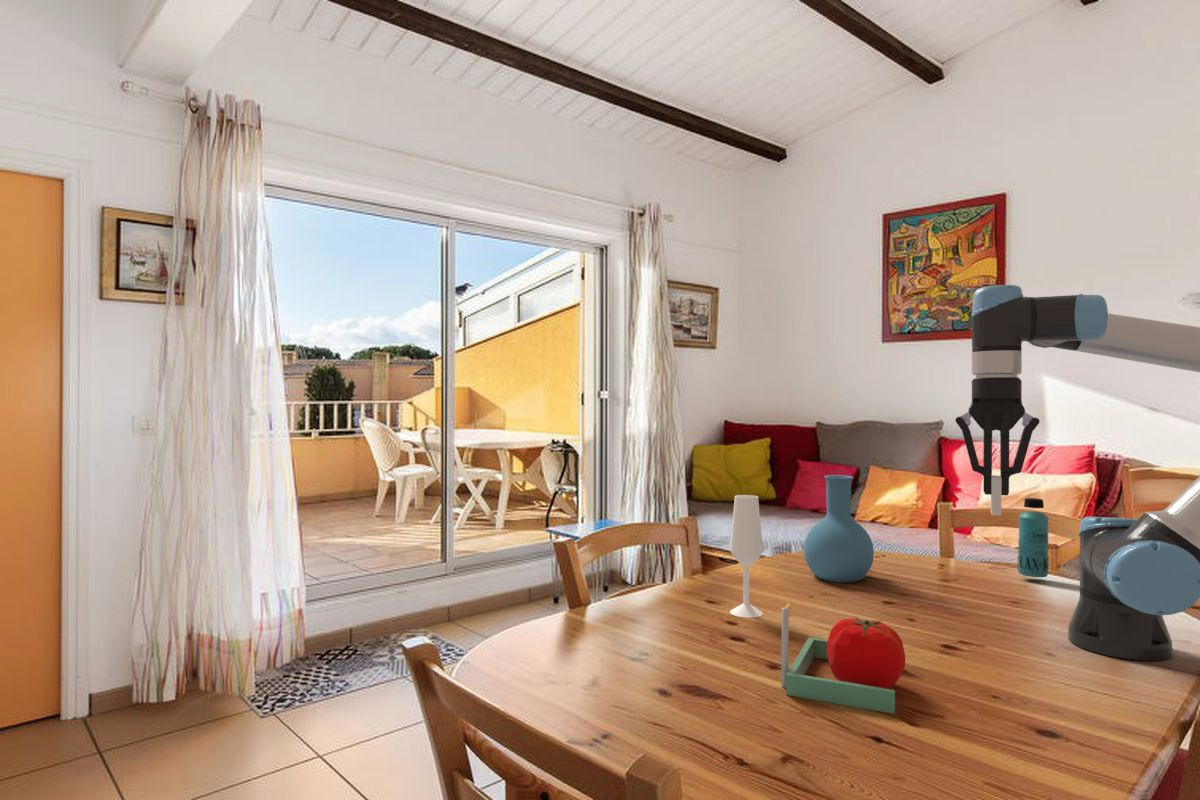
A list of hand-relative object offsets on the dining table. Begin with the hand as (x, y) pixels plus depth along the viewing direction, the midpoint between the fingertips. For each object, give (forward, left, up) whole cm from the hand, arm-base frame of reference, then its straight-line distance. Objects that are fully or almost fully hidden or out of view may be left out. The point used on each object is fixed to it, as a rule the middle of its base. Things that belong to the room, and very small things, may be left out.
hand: (996, 513), depth 125 cm
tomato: (+19, +24, -25) cm, 39 cm away
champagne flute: (+45, -6, -25) cm, 52 cm away
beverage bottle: (-11, -63, -25) cm, 69 cm away
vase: (+32, -45, -25) cm, 60 cm away
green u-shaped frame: (+22, +23, -24) cm, 40 cm away
